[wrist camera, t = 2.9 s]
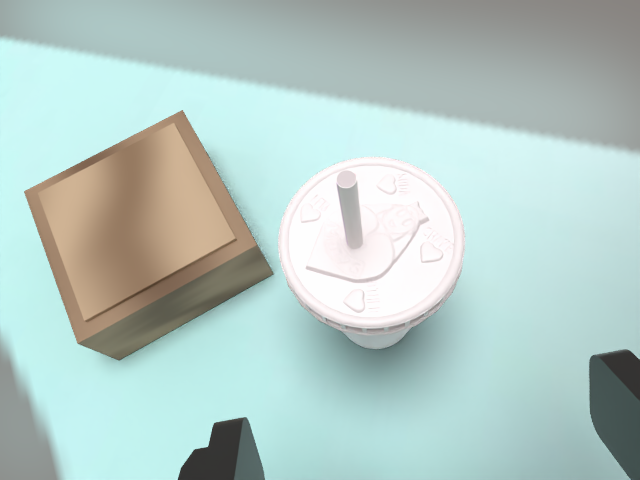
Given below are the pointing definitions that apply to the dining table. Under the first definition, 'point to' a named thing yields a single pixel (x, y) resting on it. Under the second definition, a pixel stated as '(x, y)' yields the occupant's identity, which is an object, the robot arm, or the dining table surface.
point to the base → (143, 238)
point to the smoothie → (372, 248)
